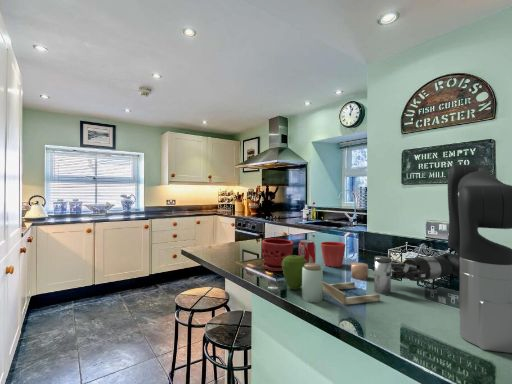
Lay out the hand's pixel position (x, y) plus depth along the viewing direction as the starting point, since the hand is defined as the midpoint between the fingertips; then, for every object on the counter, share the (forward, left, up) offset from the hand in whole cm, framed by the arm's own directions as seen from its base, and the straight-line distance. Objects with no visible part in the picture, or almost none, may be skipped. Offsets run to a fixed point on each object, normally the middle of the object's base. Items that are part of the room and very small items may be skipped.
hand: (382, 271), depth 88 cm
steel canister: (0, 0, -7) cm, 6 cm away
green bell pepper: (-4, +28, -7) cm, 29 cm away
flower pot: (+32, +14, -7) cm, 36 cm away
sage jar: (-12, +22, -7) cm, 26 cm away
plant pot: (+18, +37, -7) cm, 42 cm away
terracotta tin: (+15, +5, -7) cm, 17 cm away
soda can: (+21, +25, -7) cm, 33 cm away
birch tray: (-6, +11, -7) cm, 14 cm away
